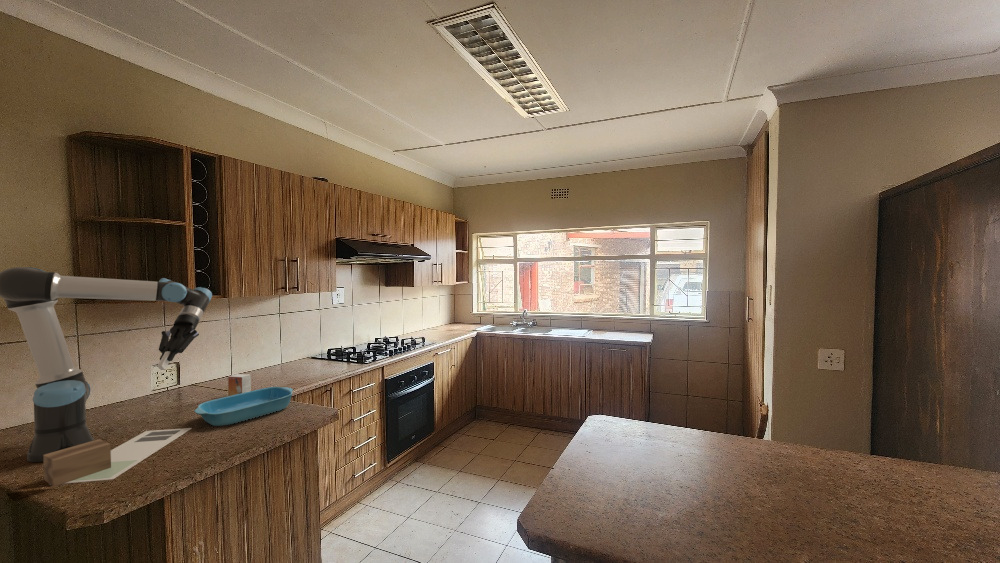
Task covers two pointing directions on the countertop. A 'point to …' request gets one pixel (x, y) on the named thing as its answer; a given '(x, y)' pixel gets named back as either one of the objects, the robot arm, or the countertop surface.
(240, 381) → the small box
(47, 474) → the walnut block
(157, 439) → the board
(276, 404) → the casserole dish
